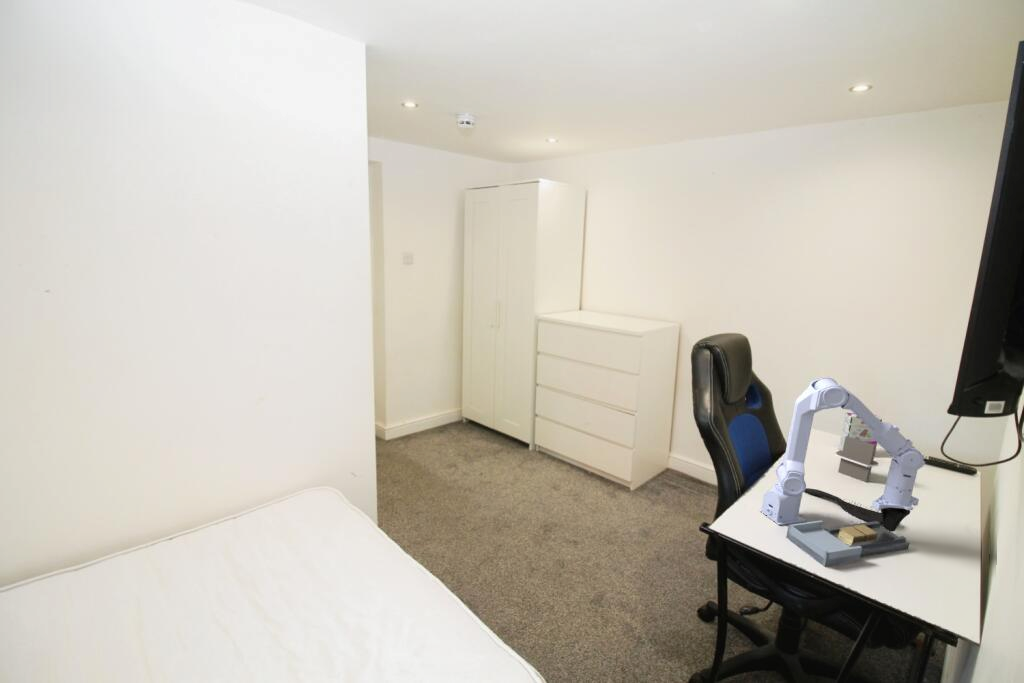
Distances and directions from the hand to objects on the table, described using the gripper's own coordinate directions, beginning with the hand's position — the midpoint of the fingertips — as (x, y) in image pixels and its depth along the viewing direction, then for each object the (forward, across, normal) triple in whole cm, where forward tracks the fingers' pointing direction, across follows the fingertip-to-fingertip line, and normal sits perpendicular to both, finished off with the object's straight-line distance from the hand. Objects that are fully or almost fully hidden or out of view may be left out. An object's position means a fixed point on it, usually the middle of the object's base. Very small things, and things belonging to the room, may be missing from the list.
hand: (888, 529), depth 128 cm
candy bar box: (+3, +47, +47) cm, 67 cm away
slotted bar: (+3, -8, 0) cm, 9 cm away
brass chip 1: (+1, -14, 0) cm, 14 cm away
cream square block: (+1, -9, 0) cm, 9 cm away
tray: (+3, -23, 0) cm, 23 cm away
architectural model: (+3, +27, +32) cm, 42 cm away
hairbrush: (+4, +3, +16) cm, 16 cm away
